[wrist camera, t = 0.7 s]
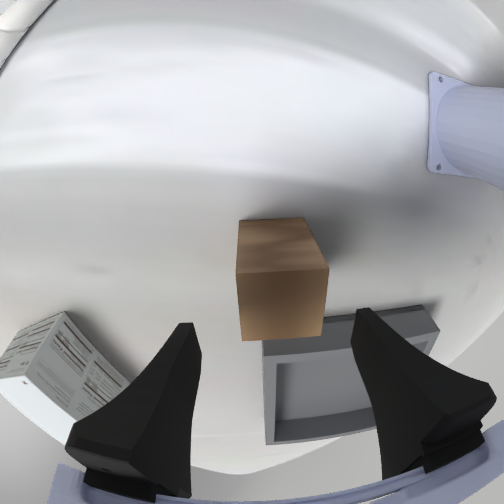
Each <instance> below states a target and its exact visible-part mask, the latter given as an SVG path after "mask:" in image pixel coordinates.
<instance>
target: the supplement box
mask: <svg viewBox="0 0 504 504" xmlns="http://www.w3.org/2000/svg"><path fill="white" fill-rule="evenodd" d="M130 384H131V383H130V382H129V381H128V380H127V379H126V378H125V377H124V376H122V375H121V374H120V373H119V372H118V371H117V370H116V369H115V368H114V367H113V366H112V365H111V364H110V363H109V362H108V361H107V360H106V359H105V358H104V357H103V355H102V354H101V353H100V352H99V351H98V350H97V349H96V348H95V347H94V346H93V345H92V344H91V343H90V342H89V340H88V339H87V338H86V337H85V336H84V335H83V334H82V332H81V331H80V330H79V329H78V328H77V327H76V325H75V324H74V323H73V322H72V321H71V319H70V318H69V317H68V316H67V314H66V313H65V312H62V313H60V314H58V315H56V316H54V317H51V318H49V319H47V320H44V321H42V322H40V323H37V324H35V325H33V326H31V327H28V328H26V329H24V330H22V331H19V332H18V333H17V334H16V336H15V337H14V339H13V340H12V342H11V343H10V344H9V346H8V347H7V349H6V351H5V352H4V354H3V355H2V357H1V358H0V393H1V394H2V395H3V396H4V397H5V398H6V399H7V400H8V401H9V402H10V403H11V404H12V405H13V406H15V407H16V408H17V409H18V410H19V411H20V412H21V413H23V414H24V415H25V416H26V417H27V418H29V419H30V420H31V421H32V422H33V423H35V424H36V425H37V426H39V427H40V428H41V429H43V430H44V431H45V432H47V433H48V434H49V435H51V436H52V437H53V438H55V439H56V440H58V441H59V442H61V443H62V444H63V445H66V442H67V439H68V436H69V434H70V431H71V428H72V426H73V424H74V423H75V422H77V421H79V420H81V419H83V418H84V417H86V416H88V415H90V414H92V413H93V412H95V411H96V410H98V409H100V408H101V407H103V406H104V405H105V404H107V403H108V402H110V401H111V400H112V399H113V398H115V397H116V396H117V395H118V394H120V393H121V392H122V391H123V390H124V389H125V388H126V387H128V386H129V385H130Z"/></svg>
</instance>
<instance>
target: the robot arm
mask: <svg viewBox="0 0 504 504" xmlns="http://www.w3.org/2000/svg"><path fill="white" fill-rule="evenodd" d="M438 77H439V78H440V82H439V80H438ZM428 78H429V146H428V161H427V168H428V170H429V171H430V172H433V173H439V174H448V175H456V176H463V177H470V178H477V179H481V180H483V181H485V182H487V183H489V184H492V185H494V186H496V187H498V188H500V189H502V190H504V88H496V87H477V86H472V85H470V84H467V83H465V82H462V81H460V80H457V79H454V78H452V77H449V76H446V75H443V74H440V73H437V72H430V73H429V76H428ZM437 165H439V167H438V169H437ZM350 343H351V347H352V351H353V355H354V359H355V362H356V365H357V367H358V370H359V372H360V375H361V378H362V380H363V383H364V385H365V388H366V391H367V393H368V396H369V399H370V402H371V405H372V409H373V413H374V418H375V422H376V428H377V433H378V439H379V446H380V454H381V464H382V481H379V482H375V483H372V484H368V485H364V486H361V487H357V488H352V489H348V490H344V491H339V492H334V493H329V494H323V495H317V496H311V497H303V498H296V499H286V500H274V501H273V500H272V501H248V502H247V501H246V502H245V501H244V502H238V501H236V502H235V501H234V502H233V501H232V502H231V501H208V500H196V499H189V498H190V497H191V496H192V494H191V474H190V452H191V428H192V417H193V411H194V406H195V400H196V395H197V390H198V385H199V379H200V374H201V359H202V353H201V350H200V346H199V343H198V339H197V335H196V332H195V328H194V324H193V323H179V324H178V325H177V327H176V328H175V330H174V331H173V333H172V334H171V335H170V337H169V338H168V340H167V341H166V342H165V344H164V345H163V347H162V348H161V349H160V351H159V352H158V353H157V354H156V356H155V357H154V358H153V360H152V361H151V362H150V363H149V364H148V365H147V367H146V368H145V369H144V370H143V371H142V372H141V374H140V375H139V376H138V377H137V378H136V379H135V380H134V381H133V382H132V383H131V384H130V385H129V386H128V387H126V388H125V389H124V390H123V391H122V392H121V393H120V394H118V395H117V396H116V397H115V398H113V399H112V400H111V401H110V402H108V403H107V404H105V405H104V406H103V407H101V408H100V409H98V410H96V411H95V412H93V413H92V414H90V415H88V416H86V417H84V418H83V419H81V420H79V421H77V422H75V423H74V424H73V426H72V428H71V431H70V434H69V436H68V439H67V442H66V445H65V450H66V452H67V453H68V454H69V455H70V456H71V457H73V458H74V459H75V460H77V461H78V462H80V463H81V464H82V465H84V466H85V467H86V468H87V470H86V473H84V472H82V471H80V470H78V469H75V468H72V467H70V466H67V465H65V464H62V463H58V466H57V469H56V473H55V476H54V479H53V483H52V486H51V490H50V494H49V497H48V501H47V504H358V503H361V502H365V501H369V500H372V499H376V498H379V497H382V496H385V495H389V494H391V495H389V496H386V497H384V498H381V499H378V500H375V501H373V502H371V503H370V504H458V503H460V502H461V501H463V500H464V499H466V498H468V497H469V496H471V495H472V494H474V493H475V492H477V491H478V490H480V489H481V488H483V487H484V486H485V485H487V484H488V483H490V482H491V481H493V480H494V479H495V478H497V477H498V476H499V475H501V474H502V473H503V472H504V421H503V420H501V421H500V422H498V423H497V424H495V425H494V426H492V427H490V428H489V429H487V430H486V431H485V432H483V433H481V431H480V429H481V428H482V426H483V425H482V423H481V421H480V420H481V419H482V418H483V417H484V416H485V415H486V414H487V413H488V412H489V410H490V409H491V408H492V407H493V405H494V404H495V402H496V399H497V398H496V395H495V394H494V392H493V390H492V389H491V387H490V385H489V383H487V382H483V381H480V380H476V379H474V378H470V377H468V376H465V375H463V374H461V373H458V372H456V371H454V370H452V369H450V368H448V367H446V366H444V365H442V364H440V363H439V362H437V361H435V360H433V359H432V358H430V357H429V356H427V355H426V354H424V353H423V352H421V351H420V350H418V349H417V348H416V347H414V346H413V345H412V344H410V343H409V342H408V341H407V340H405V339H404V338H403V337H402V336H401V335H399V334H398V333H397V332H396V331H395V330H394V329H392V328H391V327H390V326H389V325H388V324H387V323H386V322H385V321H383V320H382V319H381V318H380V317H379V316H378V315H377V314H376V313H375V312H374V311H372V310H371V309H370V308H363V309H357V311H356V316H355V321H354V326H353V331H352V336H351V340H350ZM394 492H395V493H394ZM392 493H394V494H392Z"/></svg>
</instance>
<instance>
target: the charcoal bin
mask: <svg viewBox="0 0 504 504" xmlns="http://www.w3.org/2000/svg"><path fill="white" fill-rule="evenodd" d="M375 313H376V314H377V315H378V316H379V317H380V318H381V319H382V320H383V321H385V322H386V323H387V324H388V325H389V326H390V327H391V328H392V329H394V330H395V331H396V332H397V333H398V334H399V335H401V336H402V337H403V338H404V339H405V340H407V341H408V342H409V343H410V344H412V345H413V346H414V347H416V348H417V349H418V350H420V351H421V352H423V353H424V354H426V355H427V356H428V355H429V353H430V351H431V349H432V347H433V345H434V343H435V341H436V339H437V337H438V335H439V333H440V329H439V328H438V327H437V325H436V324H435V322H434V321H433V319H432V318H431V317H430V315H429V314H428V313H427V311H426V310H425V308H424V307H423V306H422V305H417V306H411V307H405V308H398V309H391V310H384V311H377V312H375ZM355 316H356V314H352V315H343V316H334V317H323V324H322V331H321V336H312V337H301V338H288V339H274V340H262V359H263V389H264V421H265V440H266V445H277V444H289V443H299V442H308V441H315V440H322V439H328V438H334V437H340V436H345V435H350V434H355V433H360V432H364V431H369V430H372V429H377V428H376V422H375V418H374V413H373V409H372V405H371V402H370V399H369V396H368V393H367V391H366V388H365V385H364V383H363V380H362V378H361V375H360V372H359V370H358V367H357V365H356V362H355V359H354V355H353V351H352V347H351V343H350V340H351V336H352V331H353V326H354V321H355Z"/></svg>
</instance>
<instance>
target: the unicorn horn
mask: <svg viewBox="0 0 504 504" xmlns="http://www.w3.org/2000/svg"><path fill="white" fill-rule="evenodd" d="M53 1H54V0H16V1H15V2H14V3H13V4H12V5H11V6H10V7H9V8H8V9H7V10H6V11H5V12H4V13H3V14H2V15H1V16H0V68H1V67H2V65H3V64H4V62H5V60H6V58H7V57H8V56H9V54H10V53H11V52H12V50H13V49H14V47H15V46H16V45H17V43H18V42H19V41H20V39H21V38H22V37H23V35H24V34H25V33H26V32H27V30H28V29H29V28H30V26H31V25H32V24H33V23H34V22H35V21H36V19H37V18H38V17H39V16H40V15H41V14H42V13H43V12H44V10H45V9H46V8H47V7H48V6H49V5H50V4H51V3H52V2H53Z"/></svg>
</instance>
